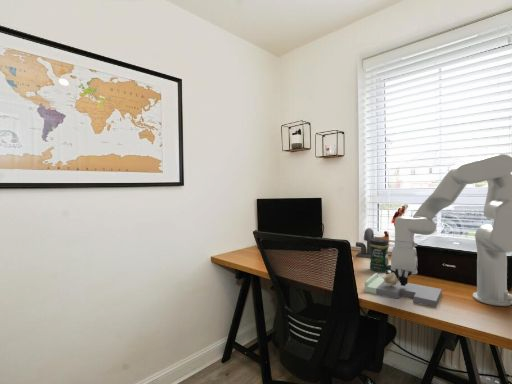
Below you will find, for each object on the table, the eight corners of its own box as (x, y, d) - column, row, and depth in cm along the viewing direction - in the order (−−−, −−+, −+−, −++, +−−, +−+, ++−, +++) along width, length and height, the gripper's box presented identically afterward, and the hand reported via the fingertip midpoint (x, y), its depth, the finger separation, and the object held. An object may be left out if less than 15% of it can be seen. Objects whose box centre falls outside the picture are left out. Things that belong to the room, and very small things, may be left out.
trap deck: (441, 294, 126) (441, 284, 126) (436, 307, 114) (436, 296, 114) (375, 281, 144) (375, 272, 144) (364, 291, 132) (364, 281, 132)
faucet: (352, 259, 186) (351, 228, 186) (357, 254, 200) (357, 225, 199) (382, 263, 177) (382, 230, 176) (385, 257, 190) (385, 227, 189)
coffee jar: (367, 270, 163) (367, 237, 162) (373, 267, 168) (373, 235, 168) (385, 273, 156) (385, 240, 155) (390, 270, 161) (390, 237, 161)
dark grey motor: (398, 281, 144) (398, 268, 144) (385, 277, 150) (385, 265, 150) (409, 277, 149) (409, 264, 149) (396, 274, 155) (396, 261, 155)
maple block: (398, 280, 131) (393, 272, 131) (396, 284, 128) (391, 276, 128) (390, 282, 134) (385, 274, 134) (388, 286, 131) (383, 278, 131)
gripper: (424, 245, 126) (424, 286, 127) (388, 240, 135) (387, 279, 136) (421, 248, 120) (420, 291, 121) (384, 243, 129) (383, 283, 130)
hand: (403, 284), depth 128 cm, fingers closed
